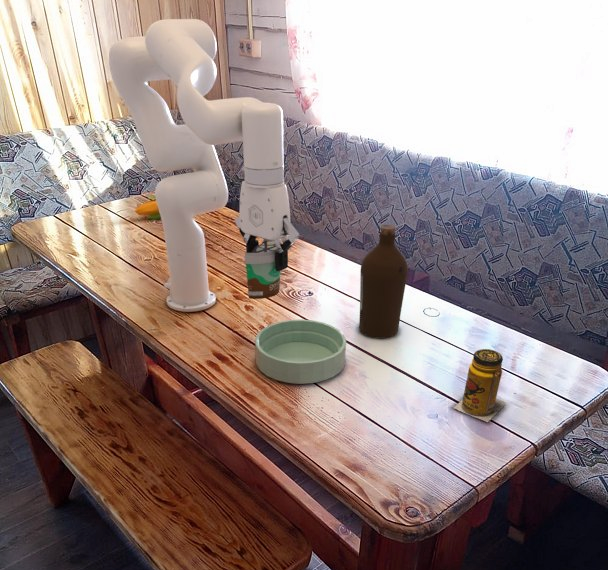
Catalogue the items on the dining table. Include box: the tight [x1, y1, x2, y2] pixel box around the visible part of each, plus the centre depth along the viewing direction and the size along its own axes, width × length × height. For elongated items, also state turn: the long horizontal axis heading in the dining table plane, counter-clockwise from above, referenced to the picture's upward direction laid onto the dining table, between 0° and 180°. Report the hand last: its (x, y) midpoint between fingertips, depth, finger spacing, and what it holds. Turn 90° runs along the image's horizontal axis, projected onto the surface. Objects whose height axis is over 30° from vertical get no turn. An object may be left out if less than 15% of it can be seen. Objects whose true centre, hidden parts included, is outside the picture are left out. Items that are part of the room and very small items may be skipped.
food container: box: [244, 238, 282, 300], centre depth 123 cm, size 12×6×10 cm, turn 164°
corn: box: [134, 195, 161, 220], centre depth 210 cm, size 7×8×20 cm
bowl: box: [254, 319, 347, 385], centre depth 128 cm, size 19×19×6 cm
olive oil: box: [358, 224, 409, 339], centre depth 136 cm, size 11×11×25 cm
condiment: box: [453, 348, 507, 423], centre depth 113 cm, size 7×8×12 cm
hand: (267, 264), depth 123 cm, fingers closed on food container, 7 cm apart
